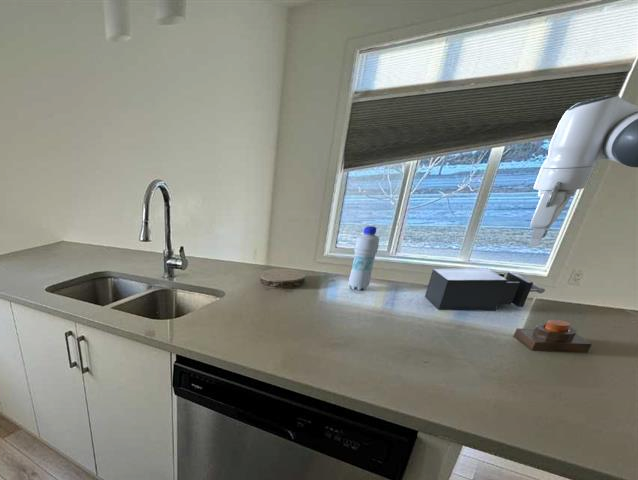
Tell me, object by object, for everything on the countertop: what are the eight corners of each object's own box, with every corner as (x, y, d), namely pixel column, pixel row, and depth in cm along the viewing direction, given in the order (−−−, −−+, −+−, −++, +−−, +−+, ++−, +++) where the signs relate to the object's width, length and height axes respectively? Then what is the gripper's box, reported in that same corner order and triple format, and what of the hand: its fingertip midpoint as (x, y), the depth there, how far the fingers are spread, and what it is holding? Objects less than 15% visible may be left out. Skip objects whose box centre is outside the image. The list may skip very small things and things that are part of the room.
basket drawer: (522, 294, 117) (532, 271, 114) (543, 307, 109) (554, 282, 105) (454, 294, 122) (461, 272, 118) (468, 306, 113) (477, 282, 110)
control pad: (564, 338, 95) (572, 322, 93) (587, 353, 88) (596, 336, 86) (512, 336, 98) (519, 321, 96) (531, 351, 91) (538, 334, 89)
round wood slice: (258, 288, 144) (258, 280, 143) (260, 276, 157) (260, 268, 156) (306, 289, 139) (307, 280, 138) (303, 276, 152) (305, 268, 151)
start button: (560, 327, 92) (563, 319, 91) (570, 333, 89) (574, 325, 88) (540, 326, 93) (544, 319, 92) (550, 332, 90) (553, 325, 89)
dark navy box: (476, 297, 121) (487, 268, 117) (495, 310, 111) (507, 280, 107) (424, 296, 125) (432, 268, 120) (438, 309, 115) (447, 280, 111)
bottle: (371, 291, 132) (385, 227, 122) (348, 291, 134) (361, 228, 124) (366, 285, 138) (380, 223, 128) (345, 285, 140) (356, 224, 130)
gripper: (575, 185, 87) (548, 250, 94) (584, 175, 98) (559, 234, 105) (536, 186, 91) (512, 248, 98) (549, 176, 103) (527, 232, 109)
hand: (537, 241), depth 102 cm, fingers open, 8 cm apart
